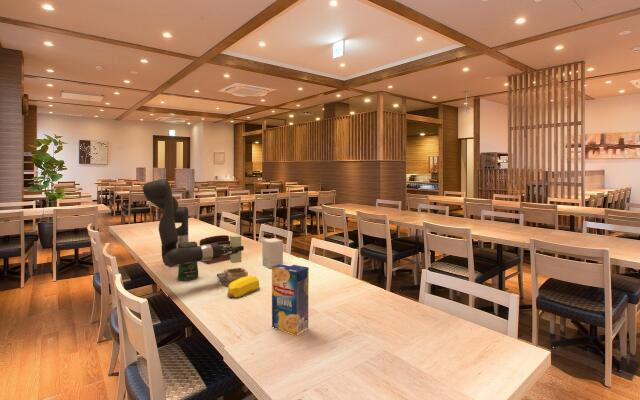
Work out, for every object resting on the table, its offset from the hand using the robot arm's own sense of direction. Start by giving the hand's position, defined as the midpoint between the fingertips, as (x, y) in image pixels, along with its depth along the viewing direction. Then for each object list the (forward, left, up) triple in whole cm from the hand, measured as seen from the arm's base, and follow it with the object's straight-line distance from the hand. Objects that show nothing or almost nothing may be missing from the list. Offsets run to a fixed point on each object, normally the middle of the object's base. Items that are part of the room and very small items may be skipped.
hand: (240, 247), depth 179 cm
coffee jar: (-11, -23, -16) cm, 31 cm away
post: (+1, -3, -7) cm, 7 cm away
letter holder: (-40, -2, -16) cm, 43 cm away
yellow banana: (+21, -4, -16) cm, 27 cm away
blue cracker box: (+63, 0, -16) cm, 65 cm away
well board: (+1, -3, -16) cm, 16 cm away
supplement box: (-13, +23, -16) cm, 31 cm away
